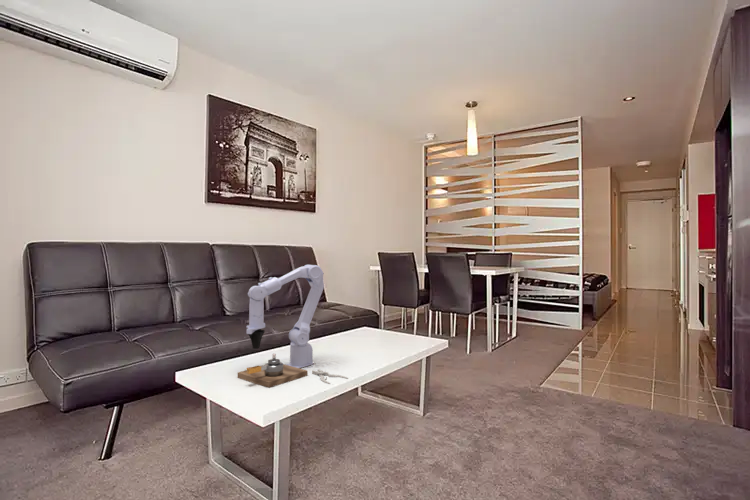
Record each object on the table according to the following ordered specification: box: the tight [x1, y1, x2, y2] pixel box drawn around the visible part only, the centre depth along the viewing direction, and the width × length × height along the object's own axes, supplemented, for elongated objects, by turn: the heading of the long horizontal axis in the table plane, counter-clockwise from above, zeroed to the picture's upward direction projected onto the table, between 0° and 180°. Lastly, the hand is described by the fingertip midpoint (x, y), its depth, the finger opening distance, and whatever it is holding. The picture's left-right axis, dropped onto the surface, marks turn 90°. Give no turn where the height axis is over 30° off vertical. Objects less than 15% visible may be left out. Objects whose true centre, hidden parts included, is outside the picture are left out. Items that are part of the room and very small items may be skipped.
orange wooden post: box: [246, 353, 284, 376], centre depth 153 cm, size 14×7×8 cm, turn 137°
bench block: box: [237, 363, 309, 389], centre depth 160 cm, size 19×19×2 cm
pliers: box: [311, 369, 349, 385], centre depth 160 cm, size 10×2×15 cm
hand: (256, 348), depth 167 cm, fingers closed
